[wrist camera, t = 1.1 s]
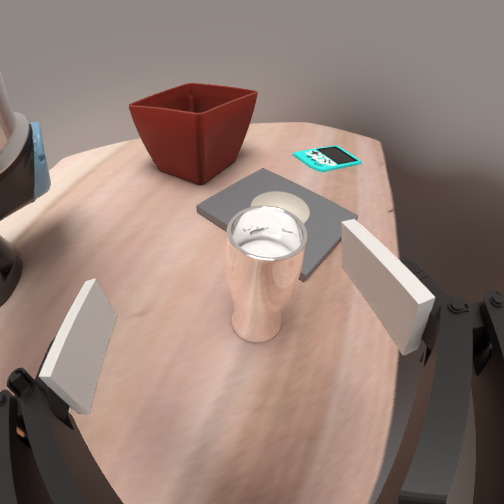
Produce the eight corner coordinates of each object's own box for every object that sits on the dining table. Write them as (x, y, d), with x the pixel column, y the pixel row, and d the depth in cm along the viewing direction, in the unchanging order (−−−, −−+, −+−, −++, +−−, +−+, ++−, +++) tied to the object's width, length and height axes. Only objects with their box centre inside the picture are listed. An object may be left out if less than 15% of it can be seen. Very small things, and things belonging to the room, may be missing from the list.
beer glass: (217, 312, 34) (208, 219, 23) (263, 289, 36) (275, 195, 25) (248, 356, 30) (256, 276, 19) (295, 327, 32) (327, 240, 22)
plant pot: (204, 200, 49) (199, 112, 37) (138, 175, 55) (126, 104, 43) (255, 159, 61) (260, 90, 49) (192, 142, 67) (189, 82, 55)
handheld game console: (291, 156, 64) (291, 151, 64) (335, 148, 70) (336, 144, 69) (317, 175, 59) (318, 170, 58) (361, 165, 65) (362, 160, 64)
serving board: (197, 212, 47) (196, 204, 45) (262, 174, 56) (263, 166, 55) (303, 282, 37) (306, 273, 36) (355, 222, 47) (358, 214, 46)
